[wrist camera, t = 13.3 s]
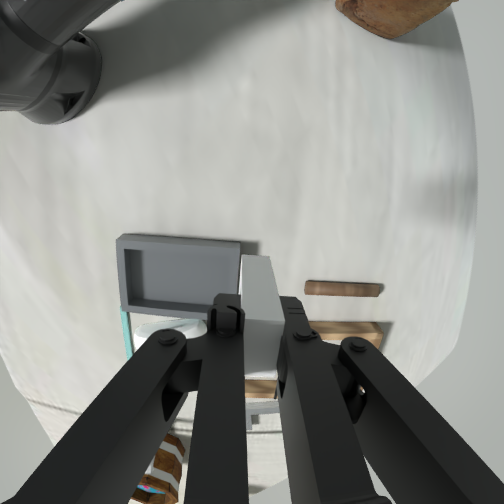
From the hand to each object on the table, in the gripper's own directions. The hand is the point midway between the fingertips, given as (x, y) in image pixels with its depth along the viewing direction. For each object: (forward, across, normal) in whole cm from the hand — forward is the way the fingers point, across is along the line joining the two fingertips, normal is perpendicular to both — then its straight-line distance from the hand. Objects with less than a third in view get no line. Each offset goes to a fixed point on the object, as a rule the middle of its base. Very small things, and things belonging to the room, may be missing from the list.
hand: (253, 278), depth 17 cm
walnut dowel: (+27, +16, -13) cm, 34 cm away
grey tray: (+26, -9, -12) cm, 30 cm away
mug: (+27, -16, -54) cm, 62 cm away
